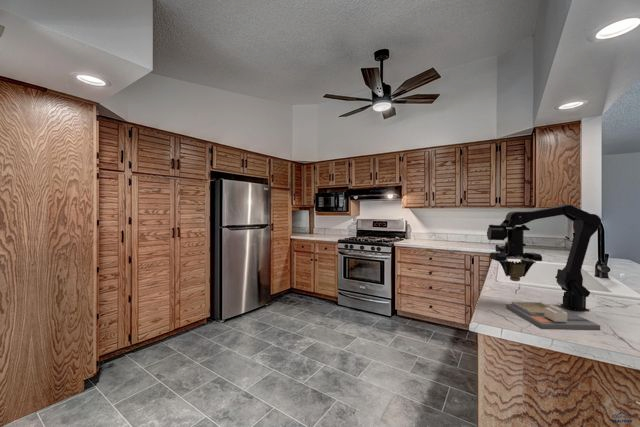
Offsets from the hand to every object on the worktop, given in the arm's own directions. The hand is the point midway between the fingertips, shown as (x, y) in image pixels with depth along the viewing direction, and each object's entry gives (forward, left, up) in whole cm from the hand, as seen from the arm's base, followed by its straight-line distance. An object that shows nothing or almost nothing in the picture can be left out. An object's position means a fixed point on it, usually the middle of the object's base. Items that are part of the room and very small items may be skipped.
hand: (515, 276), depth 119 cm
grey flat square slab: (-3, +15, -12) cm, 19 cm away
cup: (0, 0, -2) cm, 2 cm away
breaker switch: (-1, +21, -10) cm, 23 cm away
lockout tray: (-1, +12, -10) cm, 16 cm away
